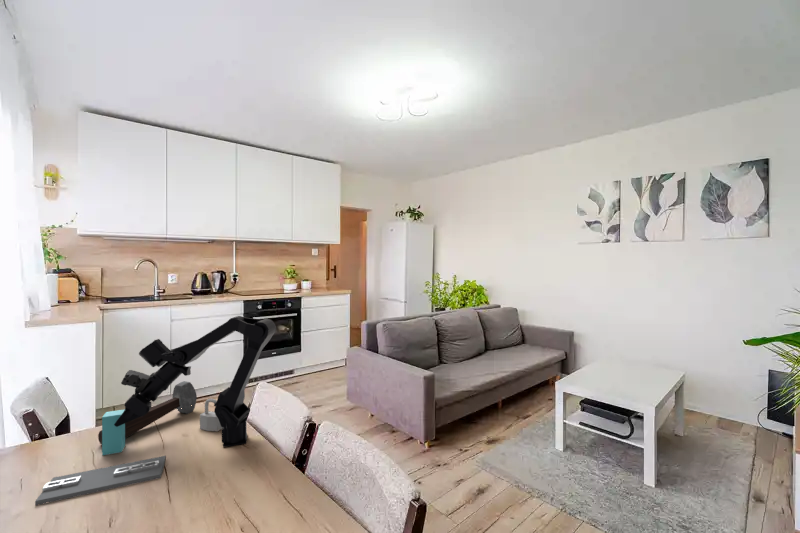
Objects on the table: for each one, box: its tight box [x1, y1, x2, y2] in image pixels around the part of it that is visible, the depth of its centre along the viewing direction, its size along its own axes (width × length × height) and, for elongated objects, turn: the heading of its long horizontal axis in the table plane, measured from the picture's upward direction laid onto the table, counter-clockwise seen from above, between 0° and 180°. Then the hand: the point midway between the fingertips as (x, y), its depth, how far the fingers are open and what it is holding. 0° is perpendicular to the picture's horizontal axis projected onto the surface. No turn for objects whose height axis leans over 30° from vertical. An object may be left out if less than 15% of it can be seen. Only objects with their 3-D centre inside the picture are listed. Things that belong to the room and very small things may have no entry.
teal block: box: [101, 408, 126, 456], centre depth 107 cm, size 4×4×11 cm
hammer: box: [97, 381, 198, 445], centre depth 123 cm, size 5×11×30 cm
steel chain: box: [41, 460, 159, 493], centre depth 92 cm, size 23×2×1 cm, turn 116°
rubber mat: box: [34, 455, 167, 506], centre depth 93 cm, size 24×10×1 cm, turn 116°
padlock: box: [199, 398, 222, 432], centre depth 121 cm, size 7×4×10 cm, turn 75°
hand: (119, 419), depth 108 cm, fingers open, 9 cm apart
